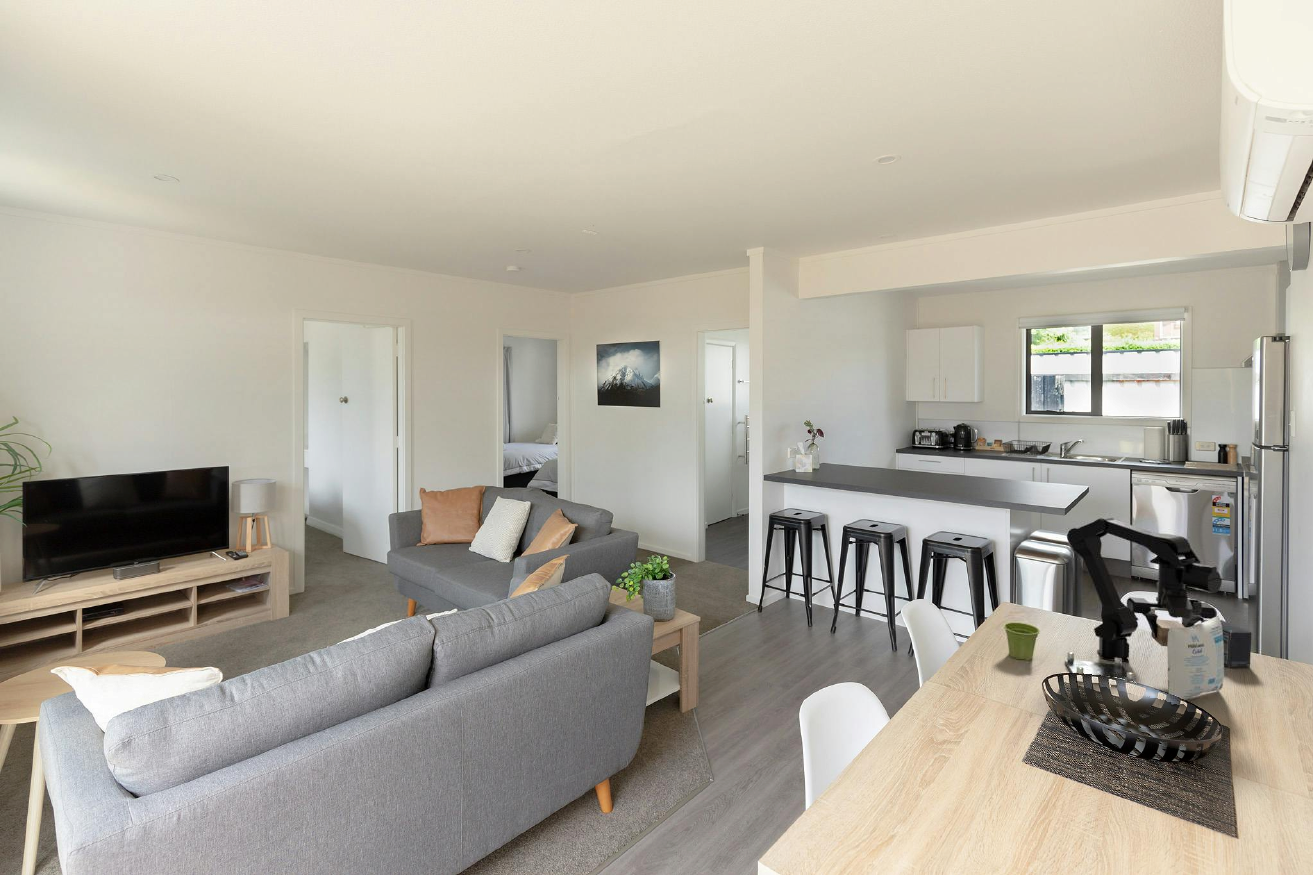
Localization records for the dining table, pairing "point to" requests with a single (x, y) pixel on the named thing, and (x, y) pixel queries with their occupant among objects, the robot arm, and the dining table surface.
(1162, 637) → the brown block
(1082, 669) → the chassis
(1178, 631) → the pouch
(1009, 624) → the plant pot
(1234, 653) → the small box
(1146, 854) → the dining table surface
